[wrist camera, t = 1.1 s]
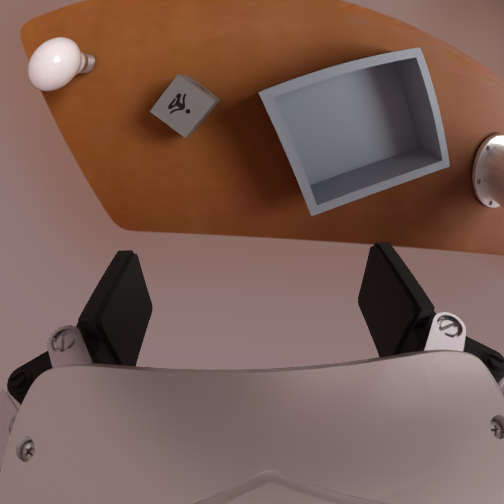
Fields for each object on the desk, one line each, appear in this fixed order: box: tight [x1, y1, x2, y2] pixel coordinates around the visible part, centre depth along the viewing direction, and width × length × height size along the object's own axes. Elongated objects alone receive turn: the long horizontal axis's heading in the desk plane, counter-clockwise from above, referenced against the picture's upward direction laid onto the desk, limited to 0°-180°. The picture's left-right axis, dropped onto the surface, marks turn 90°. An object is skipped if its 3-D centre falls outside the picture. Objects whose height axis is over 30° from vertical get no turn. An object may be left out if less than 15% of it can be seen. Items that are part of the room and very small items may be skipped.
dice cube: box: [150, 75, 221, 138], centre depth 28 cm, size 5×5×5 cm
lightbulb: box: [28, 37, 95, 91], centre depth 22 cm, size 6×6×11 cm
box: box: [258, 48, 450, 216], centre depth 28 cm, size 18×14×7 cm
